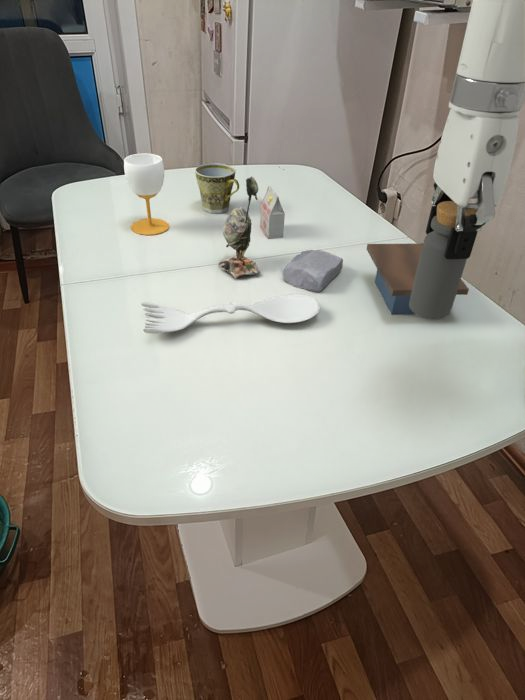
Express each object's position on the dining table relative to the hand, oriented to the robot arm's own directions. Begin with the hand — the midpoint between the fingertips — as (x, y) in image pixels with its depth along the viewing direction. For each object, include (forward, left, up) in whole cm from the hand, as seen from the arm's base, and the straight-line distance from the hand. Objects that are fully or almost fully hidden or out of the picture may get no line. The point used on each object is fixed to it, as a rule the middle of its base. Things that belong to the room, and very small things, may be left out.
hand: (446, 244), depth 67 cm
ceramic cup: (+28, -68, -24) cm, 78 cm away
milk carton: (+16, -55, -24) cm, 62 cm away
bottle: (0, 0, -10) cm, 10 cm away
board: (-8, -25, -18) cm, 32 cm away
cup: (+45, -58, -24) cm, 77 cm away
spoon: (+27, -18, -24) cm, 41 cm away
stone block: (+10, -34, -24) cm, 43 cm away
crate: (-8, -25, -24) cm, 36 cm away
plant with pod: (+25, -38, -24) cm, 52 cm away
